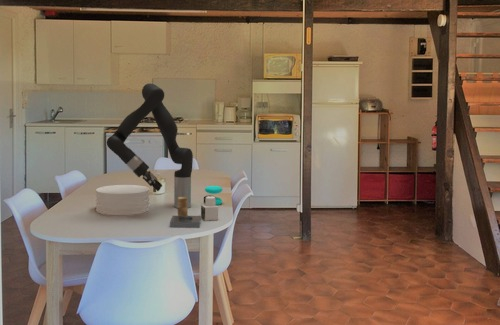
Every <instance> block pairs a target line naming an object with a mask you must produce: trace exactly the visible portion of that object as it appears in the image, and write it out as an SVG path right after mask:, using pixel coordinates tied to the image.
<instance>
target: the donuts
mask: <svg viewBox="0 0 500 325" xmlns="http://www.w3.org/2000/svg"><path fill="white" fill-rule="evenodd" d="M204 192H206V193H207V194H211V195H217V194H220V193H222V192H223V187H221V186H219V185H208V186H206V187H204ZM215 197H216V204H215V205H216V206H220V205H221V204H222V203H223V200H222V199H221V198H220V197H217V196H215Z"/></svg>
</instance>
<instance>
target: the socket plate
mask: <svg viewBox="0 0 500 325" xmlns="http://www.w3.org/2000/svg"><path fill="white" fill-rule="evenodd" d="M201 219H202V218H201V215H187V216H178V215H172V216H171V219H170V220H169V221H170V222H169V228H200V226H201V222H200V221H202V220H201Z"/></svg>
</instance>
